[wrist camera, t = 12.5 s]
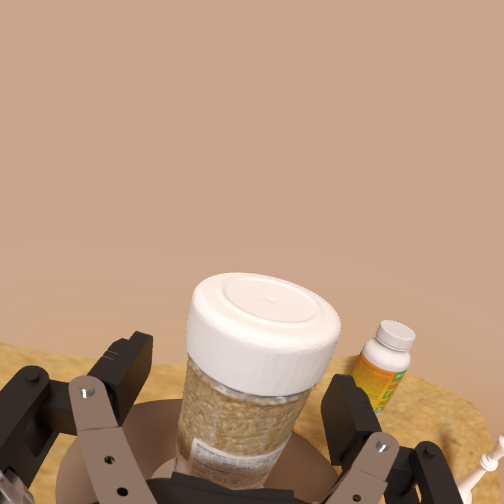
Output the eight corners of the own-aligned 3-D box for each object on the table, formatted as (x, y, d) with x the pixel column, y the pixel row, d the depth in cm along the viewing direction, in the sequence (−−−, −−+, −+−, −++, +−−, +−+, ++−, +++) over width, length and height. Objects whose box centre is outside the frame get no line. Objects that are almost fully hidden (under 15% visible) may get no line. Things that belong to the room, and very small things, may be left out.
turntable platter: (22, 554, 4) (10, 547, 3) (118, 385, 21) (117, 371, 21) (354, 616, 4) (370, 613, 4) (325, 429, 21) (332, 417, 21)
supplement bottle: (374, 426, 24) (418, 349, 22) (331, 403, 27) (367, 326, 25) (387, 401, 28) (424, 330, 26) (349, 382, 31) (381, 311, 29)
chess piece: (420, 499, 14) (494, 420, 12) (445, 473, 17) (507, 396, 14) (452, 527, 10) (536, 451, 8) (474, 498, 12) (544, 422, 10)
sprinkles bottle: (185, 460, 14) (219, 257, 11) (255, 480, 14) (338, 289, 10) (158, 513, 10) (165, 304, 7) (241, 538, 10) (356, 357, 6)
